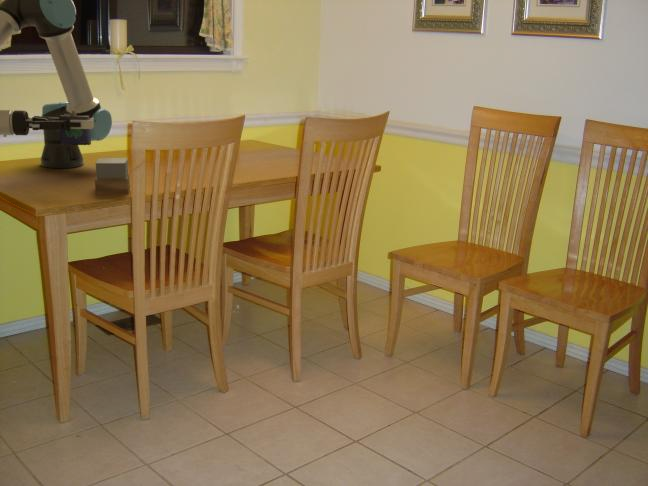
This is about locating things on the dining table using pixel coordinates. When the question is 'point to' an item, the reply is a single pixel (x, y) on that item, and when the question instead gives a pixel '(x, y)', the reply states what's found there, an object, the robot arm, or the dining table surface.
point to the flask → (75, 131)
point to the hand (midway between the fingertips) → (92, 123)
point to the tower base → (112, 186)
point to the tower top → (112, 168)
